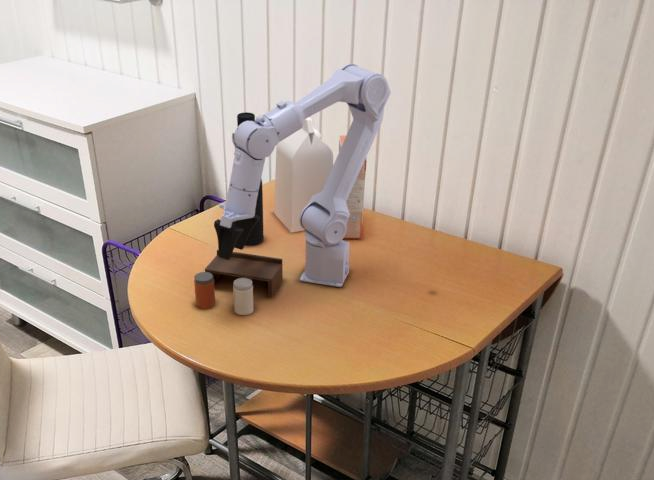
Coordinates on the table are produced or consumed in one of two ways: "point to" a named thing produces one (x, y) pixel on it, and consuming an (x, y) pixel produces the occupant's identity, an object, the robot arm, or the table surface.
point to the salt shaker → (243, 296)
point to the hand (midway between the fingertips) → (231, 253)
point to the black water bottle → (257, 231)
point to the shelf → (249, 268)
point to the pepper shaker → (204, 290)
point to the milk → (300, 173)
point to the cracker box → (355, 201)
